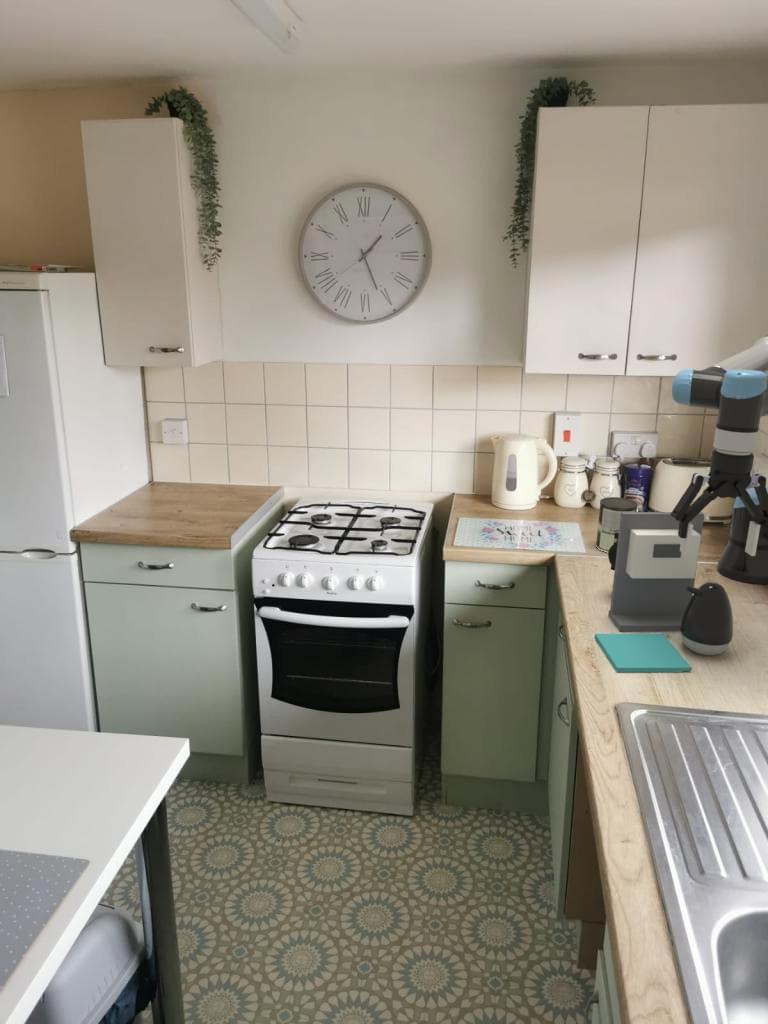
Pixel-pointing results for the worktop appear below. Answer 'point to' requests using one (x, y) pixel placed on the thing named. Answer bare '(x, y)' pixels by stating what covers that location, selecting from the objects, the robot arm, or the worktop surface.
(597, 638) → the mat
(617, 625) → the mounted unit
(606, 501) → the coffee can
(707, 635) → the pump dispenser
